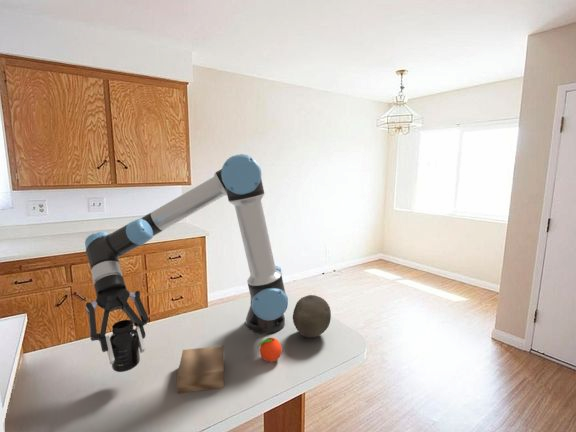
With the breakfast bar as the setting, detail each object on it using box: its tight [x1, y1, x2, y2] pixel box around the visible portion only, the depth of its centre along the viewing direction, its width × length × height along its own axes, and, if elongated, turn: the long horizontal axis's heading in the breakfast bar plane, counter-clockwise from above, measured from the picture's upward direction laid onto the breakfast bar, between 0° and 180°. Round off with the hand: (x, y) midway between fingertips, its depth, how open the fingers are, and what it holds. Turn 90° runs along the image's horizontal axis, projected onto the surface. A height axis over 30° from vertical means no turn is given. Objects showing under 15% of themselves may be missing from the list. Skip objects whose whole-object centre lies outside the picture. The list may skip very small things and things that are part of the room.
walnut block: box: [176, 345, 225, 394], centre depth 87 cm, size 12×12×5 cm
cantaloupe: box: [292, 294, 332, 338], centre depth 108 cm, size 14×14×15 cm
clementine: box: [257, 337, 283, 363], centre depth 95 cm, size 8×7×7 cm
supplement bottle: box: [109, 319, 141, 373], centre depth 82 cm, size 7×7×12 cm
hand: (128, 356), depth 79 cm, fingers closed on supplement bottle, 7 cm apart
